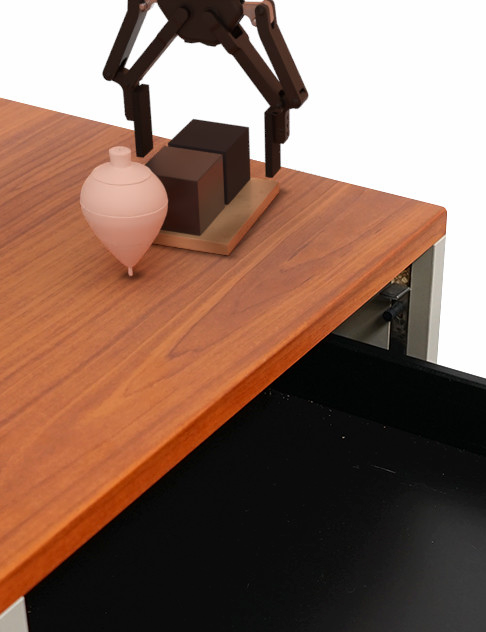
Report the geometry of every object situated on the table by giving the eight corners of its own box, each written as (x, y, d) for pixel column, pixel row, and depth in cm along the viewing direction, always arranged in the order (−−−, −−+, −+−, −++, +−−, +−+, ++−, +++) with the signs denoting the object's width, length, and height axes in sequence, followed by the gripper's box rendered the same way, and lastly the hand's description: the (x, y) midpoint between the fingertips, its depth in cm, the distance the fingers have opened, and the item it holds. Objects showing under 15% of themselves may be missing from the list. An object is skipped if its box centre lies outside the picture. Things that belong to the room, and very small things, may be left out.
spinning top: (111, 251, 132) (99, 127, 125) (186, 266, 131) (178, 141, 123) (73, 285, 126) (58, 157, 119) (150, 301, 125) (140, 172, 118)
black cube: (171, 196, 140) (167, 142, 136) (195, 170, 145) (192, 118, 142) (228, 205, 139) (225, 151, 136) (250, 179, 145) (249, 126, 141)
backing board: (110, 236, 135) (103, 170, 130) (170, 175, 147) (166, 112, 143) (228, 255, 133) (225, 188, 129) (279, 192, 145) (278, 129, 141)
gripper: (341, -55, 129) (337, 167, 142) (87, -89, 132) (107, 131, 145) (318, -34, 123) (316, 195, 136) (52, -71, 126) (77, 157, 139)
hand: (208, 163), depth 141 cm, fingers open, 13 cm apart
